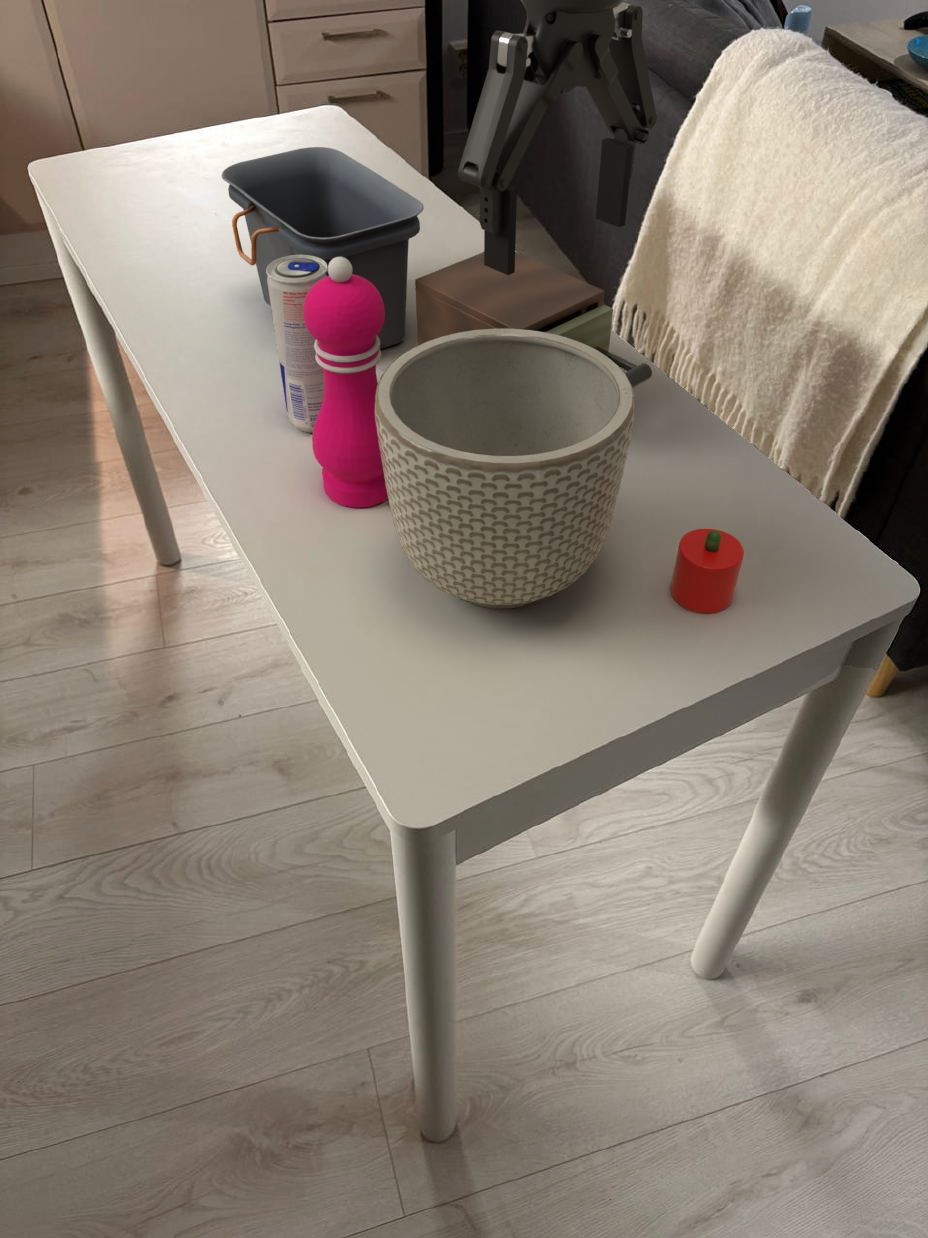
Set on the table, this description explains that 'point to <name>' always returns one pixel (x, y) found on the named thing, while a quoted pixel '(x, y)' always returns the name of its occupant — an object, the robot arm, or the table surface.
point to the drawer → (597, 338)
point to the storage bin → (328, 220)
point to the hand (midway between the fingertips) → (557, 244)
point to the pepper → (706, 570)
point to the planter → (503, 460)
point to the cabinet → (497, 297)
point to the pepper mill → (347, 384)
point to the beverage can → (296, 336)
